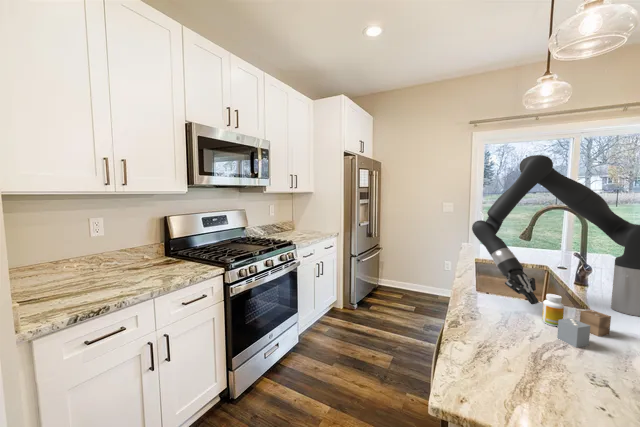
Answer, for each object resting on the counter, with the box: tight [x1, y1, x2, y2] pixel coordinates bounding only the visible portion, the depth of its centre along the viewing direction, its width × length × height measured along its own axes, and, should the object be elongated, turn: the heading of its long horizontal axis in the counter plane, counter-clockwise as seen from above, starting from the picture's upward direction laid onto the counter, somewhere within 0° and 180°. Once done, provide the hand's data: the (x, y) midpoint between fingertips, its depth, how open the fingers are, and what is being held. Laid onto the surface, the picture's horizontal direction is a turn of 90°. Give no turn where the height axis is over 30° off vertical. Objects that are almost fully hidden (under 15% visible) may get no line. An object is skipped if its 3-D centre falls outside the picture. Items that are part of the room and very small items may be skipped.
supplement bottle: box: [541, 293, 565, 328], centre depth 91 cm, size 5×5×10 cm
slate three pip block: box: [556, 317, 591, 349], centre depth 80 cm, size 5×5×6 cm
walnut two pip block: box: [579, 309, 612, 337], centre depth 86 cm, size 5×5×6 cm
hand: (535, 303), depth 97 cm, fingers closed
